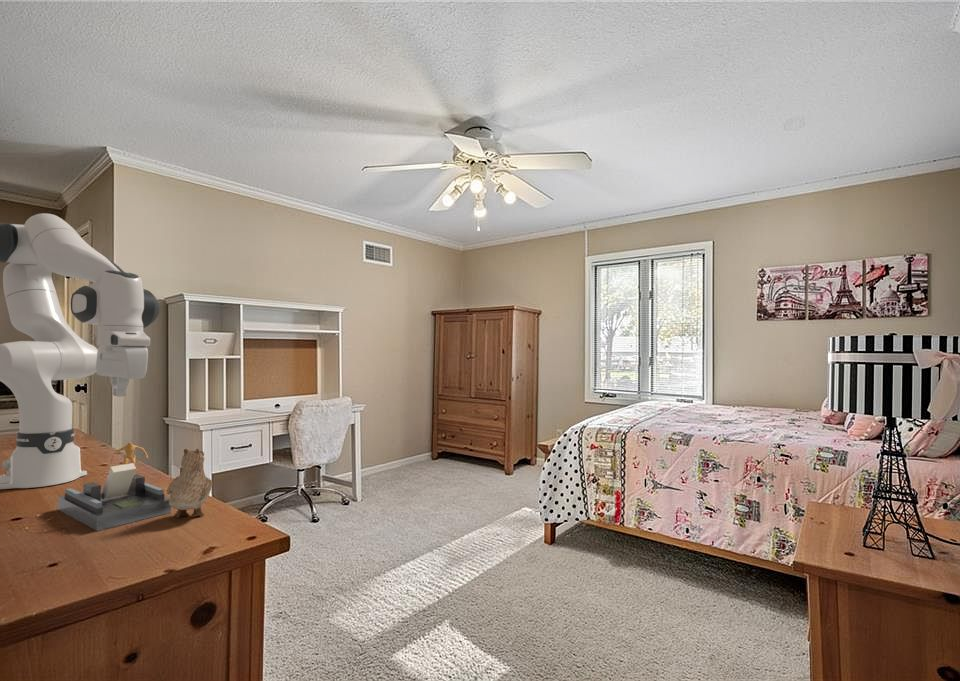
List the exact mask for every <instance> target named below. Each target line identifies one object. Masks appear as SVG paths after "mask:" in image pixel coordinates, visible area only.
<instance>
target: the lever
mask: <svg viewBox="0 0 960 681" xmlns="http://www.w3.org/2000/svg"><path fill="white" fill-rule="evenodd" d="M135 465H136V464H135ZM135 465H134V463H132V462H131V463H127V464H125V465H124V464H120V465H119V464H118V465H114V466H110V468H109V471H108V474H107V477H106V480H105V483H104V486H103V487H102V488H103V491H102V493H101V499H106V498H111V497H116V496H120V495H125V494H128V490H129V487H130V484H131V482H132V479H133V476H134V473H135V474H136V470H137V467H136V466H135Z"/></svg>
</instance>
